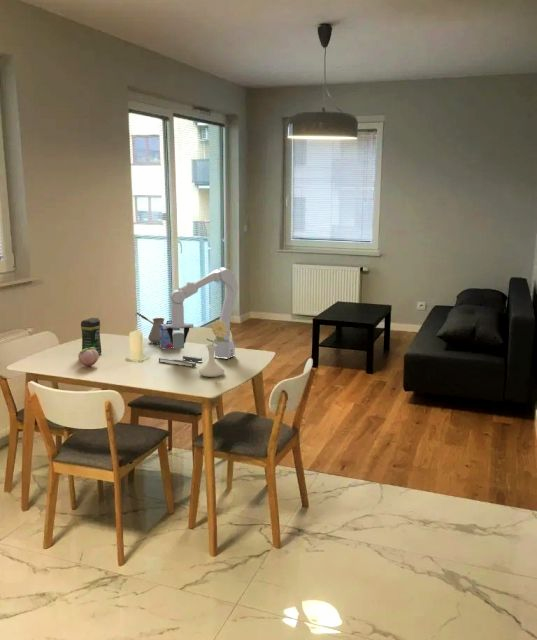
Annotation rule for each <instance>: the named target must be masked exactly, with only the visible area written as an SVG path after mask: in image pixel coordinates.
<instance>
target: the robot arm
mask: <svg viewBox="0 0 537 640" xmlns="http://www.w3.org/2000/svg"><path fill="white" fill-rule="evenodd" d="M212 282H222V283H223V284H224V285H225V287H226V290H225V295H224V299H223V304H222V307H221V312H220V314H219V315H220V317H219V319H218V320H219V321H220V320H221V321H223V322H224V323H225V324H226V326H227V327H228V329H227V330H228V331H227V334H226V335H225V336H224V337H223V338H224V339H225V340H224V341H222V342H219V341H218V340H217V339H216V340H215V338H216V336H214V337H215V338H214V340H215V342H214V344H216V345H217V346H216V348H215V351H214V355H215V356H218V357H227V358H229V357H231V356H233V355H235V356H236V351H235V349H236V347H235V342H234V340H231V339H230V337H231V330H230V328H231V317H232V314H233V310H234V305H235V300H236V299H237V298H236V297H237V294H238V293H237V292H238V289H239V286H238V282H237V279H236V274H234V272H233V271H232V270H231V269H228V268H227V267H225V266H221V267H219V268H218V269H214V270H213V271H211V272H210V273H208V274H207V275H205V276H203V277H201V278H200V279H198V280H197V281H196V282H194V281H187V282H185V283H186V284H184V285H183V286H182V287H178V288H177V289H175V290H173V291H172V292H171V293H170V295H169V299H170V300H171V321H172V322H171V323H172V324H166V323H164V324H163V329H167V331H168V333H169V336H170V338H171V342H172V344H173V334H172V329H177V328H180V329H183V331H184V344H186V341H187V337H188V335H189V332H190V329H194V323H185V315H184V314H185V313H184V312H185V309H184V308H185V307H184V301H185V300H186V299H188V298H189V297H191V296H193V295H195V294H197V293H199V292H198V291H199V289H201V288H202V287H204V286H207V285H208V284H211V283H212ZM217 337H218V336H217Z"/></svg>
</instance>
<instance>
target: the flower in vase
mask: <svg viewBox="0 0 537 640" xmlns="http://www.w3.org/2000/svg"><path fill="white" fill-rule="evenodd" d="M211 329H212V330H211V332H212V333H213V334H214V337H216V338H214V340H212V339H209V338H206V340H207V341H208V342H210V343H207V344H205V347H206V348H207V351H208V361H207V362H206V364H204V365H203V366H201V368H199V370H198V373H199V375H201V376H202V377H203V376H204V377H206V378H207V377H209V378H210V377H211V378H212V377H213V378H215V377H219V376H222V375H224V374H225V369H224V368H223V366H221V365H220V364H219V363H217V361H215V358H214V355H215V348H216V346H217V345H216V344H215V340H216V339H217V340H218V341H219V342H222V341H224V340H225V339H224V338H223V337H224V336H225V335H226V334H227V331H228V330H227V329H228V327H227V326H226V324H225V323H224V322H223V321H221V320H220V321H219V319H217V320H215V322H213V323H212V325H211ZM217 336H218V337H217Z"/></svg>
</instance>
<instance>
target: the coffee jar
mask: <svg viewBox="0 0 537 640" xmlns="http://www.w3.org/2000/svg"><path fill="white" fill-rule="evenodd" d="M80 329H81V350H83V349H86V348H90V347H95V348H97V349H95V350H96V351H97V352H98V354H99V355H101V354H102V346H101V334H100V333H101V320H100V319H99V318H98V317H90V318H87V319H83V320H82V321H81V322H80Z"/></svg>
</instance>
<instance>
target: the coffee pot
mask: <svg viewBox="0 0 537 640" xmlns="http://www.w3.org/2000/svg"><path fill="white" fill-rule="evenodd" d="M134 316H135V317H136V316H138V317H141V318H142V319H144V320H145V321H147V322H149V323H150V324H152V327H151V329H150V331H149V335H148V340H149V342H150V343H152V342H153V343H160V326H159V325H160V324H165V323H164V322H165V319H166V318H164V317H155V318H152V320H150V319H149V318H148V317H146V316H144V315H142V313H140V312H136V313H135V314H134ZM153 343H152V344H153Z"/></svg>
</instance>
